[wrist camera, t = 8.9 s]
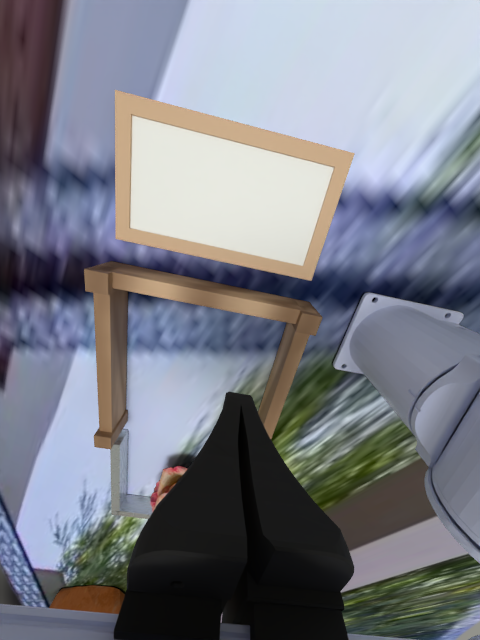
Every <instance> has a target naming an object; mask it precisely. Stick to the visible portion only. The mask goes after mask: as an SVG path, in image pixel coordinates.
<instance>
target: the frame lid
mask: <svg viewBox="0 0 480 640" xmlns="http://www.w3.org/2000/svg"><path fill="white" fill-rule="evenodd" d="M353 156H354V153H351V152H347V151H343V150H340V149H336V148H332V147H328V146H325V145H321V144H317V143H313V142H310V141H306V140H302V139H298V138H294V137H291V136H287V135H283V134H279V133H276V132H272V131H268V130H264V129H261V128H257V127H253V126H249V125H245V124H242V123H238V122H234V121H230V120H227V119H223V118H219V117H215V116H212V115H208V114H204V113H200V112H197V111H193V110H189V109H185V108H181V107H178V106H174V105H170V104H166V103H163V102H159V101H155V100H151V99H148V98H144V97H140V96H136V95H132V94H129V93H125V92H121V91H117V90H115V195H116V239H119V240H123V241H128V242H133V243H137V244H142V245H147V246H151V247H156V248H161V249H165V250H170V251H175V252H179V253H184V254H189V255H193V256H198V257H203V258H207V259H212V260H217V261H221V262H226V263H231V264H235V265H240V266H245V267H249V268H254V269H259V270H263V271H268V272H273V273H277V274H282V275H287V276H291V277H296V278H300V279H305V280H310V281H311V280H312V277H313V274H314V271H315V269H316V266H317V263H318V260H319V257H320V254H321V251H322V248H323V245H324V242H325V239H326V236H327V233H328V230H329V227H330V224H331V221H332V218H333V215H334V212H335V209H336V207H337V204H338V201H339V198H340V195H341V192H342V189H343V186H344V183H345V180H346V177H347V174H348V171H349V168H350V165H351V162H352V159H353Z"/></svg>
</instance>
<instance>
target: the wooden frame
mask: <svg viewBox="0 0 480 640" xmlns="http://www.w3.org/2000/svg"><path fill="white" fill-rule="evenodd" d="M84 274H85V291H88V292H93V293H94V316H95V338H96V361H97V383H98V406H99V429H98V430H97V432H96V433H95V435H94V445H95V447H99V448H106V449H111V448H112V447H113V445H114V443H115V441H116V440H117V438H118V436H119V434H120V433H121V431H122V429H123V428H124V426H125V424H126V422H127V421H128V410H126V376H127V319H128V291H130V292H135V293H140V294H145V295H150V296H155V297H160V298H166V299H171V300H176V301H181V302H186V303H191V304H196V305H201V306H206V307H211V308H216V309H221V310H226V311H231V312H236V313H241V314H246V315H251V316H257V317H262V318H267V319H272V320H277V321H282V322H287V323H286V327H285V330H284V333H283V336H282V339H281V342H280V345H279V349H278V352H277V355H276V358H275V361H274V364H273V367H272V370H271V374H270V377H269V380H268V383H267V386H266V389H265V392H264V395H263V399H262V402H261V405H260V408H259V411H258V414H259V416H260V419H261V421H262V423H263V425H264V427H265V429H266V431H267V433H268V435H269V437H270V439H271V438H272V435H273V432H274V430H275V427H276V424H277V422H278V419H279V416H280V414H281V411H282V408H283V406H284V403H285V400H286V397H287V395H288V392H289V389H290V387H291V384H292V381H293V379H294V376H295V373H296V371H297V368H298V365H299V362H300V360H301V357H302V354H303V352H304V349H305V346H306V344H307V341H308V338H309V336H310V335H314V336H316V333H317V331H318V328H319V325H320V323H321V320H322V316H321V315H320V314H319V313H318V312H317V310H316V309H315V308H314V307H313V306H312V305H311V304H310V302H306V301H302V300H297V299H292V298H287V297H282V296H277V295H273V294H268V293H263V292H258V291H253V290H248V289H244V288H239V287H234V286H229V285H224V284H219V283H214V282H210V281H205V280H200V279H195V278H190V277H185V276H181V275H176V274H171V273H166V272H161V271H156V270H152V269H147V268H142V267H137V266H132V265H127V264H123V263H118V262H113V261H110V262H107V263H104V264H100V265H97V266H93V267H90V268H86V269H84Z"/></svg>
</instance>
